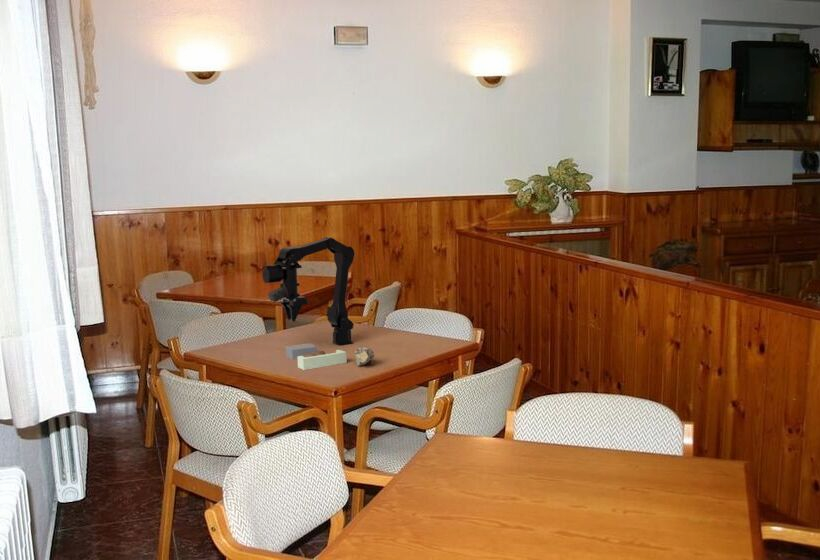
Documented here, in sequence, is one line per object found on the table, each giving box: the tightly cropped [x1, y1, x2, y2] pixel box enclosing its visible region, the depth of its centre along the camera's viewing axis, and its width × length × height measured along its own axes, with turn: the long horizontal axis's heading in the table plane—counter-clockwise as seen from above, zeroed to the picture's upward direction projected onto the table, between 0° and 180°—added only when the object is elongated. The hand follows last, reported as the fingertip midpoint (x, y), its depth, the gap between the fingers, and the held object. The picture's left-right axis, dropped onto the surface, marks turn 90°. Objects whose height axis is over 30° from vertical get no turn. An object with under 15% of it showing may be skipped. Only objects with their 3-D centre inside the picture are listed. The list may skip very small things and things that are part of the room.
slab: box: [285, 342, 318, 361], centre depth 317 cm, size 10×7×4 cm
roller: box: [302, 350, 326, 358], centre depth 309 cm, size 8×4×4 cm
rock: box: [354, 345, 375, 367], centre depth 303 cm, size 7×11×10 cm
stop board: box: [296, 349, 348, 371], centre depth 303 cm, size 17×5×4 cm, turn 123°
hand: (291, 320), depth 322 cm, fingers open, 4 cm apart
